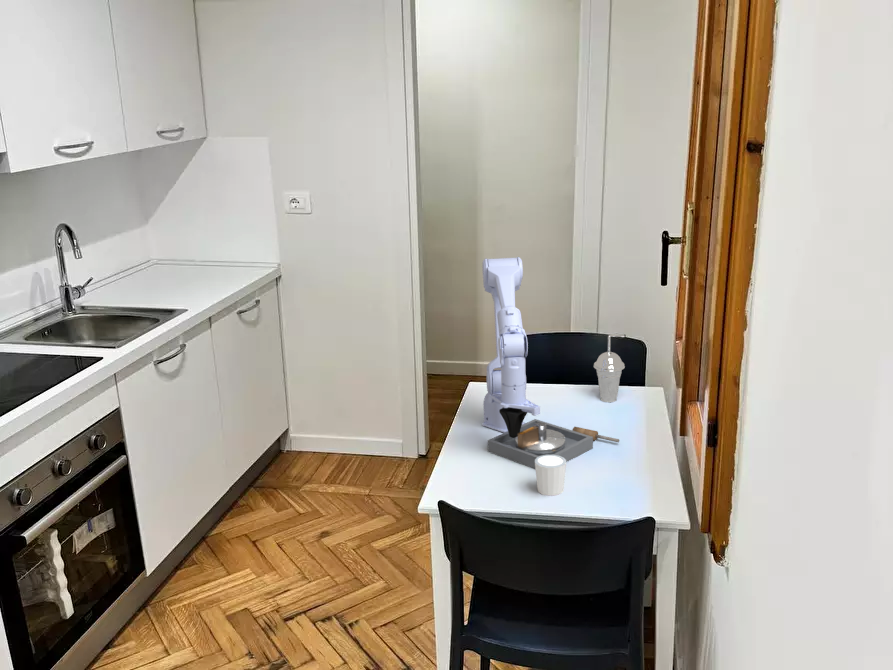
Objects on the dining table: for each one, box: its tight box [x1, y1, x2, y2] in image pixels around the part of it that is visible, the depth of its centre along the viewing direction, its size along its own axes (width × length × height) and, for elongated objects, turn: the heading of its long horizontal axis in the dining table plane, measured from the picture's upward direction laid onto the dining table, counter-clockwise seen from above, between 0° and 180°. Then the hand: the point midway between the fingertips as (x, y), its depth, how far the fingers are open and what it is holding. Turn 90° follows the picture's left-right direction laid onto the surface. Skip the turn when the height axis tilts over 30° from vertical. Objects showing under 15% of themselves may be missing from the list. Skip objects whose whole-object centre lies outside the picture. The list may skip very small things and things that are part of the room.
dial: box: [515, 422, 565, 455], centre depth 200 cm, size 14×12×5 cm
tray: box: [487, 418, 594, 470], centre depth 201 cm, size 18×18×3 cm
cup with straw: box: [593, 333, 626, 403], centre depth 230 cm, size 8×9×20 cm
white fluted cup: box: [535, 455, 567, 497], centre depth 180 cm, size 7×7×7 cm
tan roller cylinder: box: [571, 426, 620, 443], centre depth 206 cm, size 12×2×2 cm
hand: (514, 436), depth 199 cm, fingers closed
